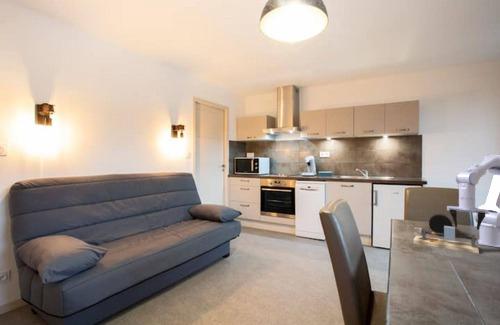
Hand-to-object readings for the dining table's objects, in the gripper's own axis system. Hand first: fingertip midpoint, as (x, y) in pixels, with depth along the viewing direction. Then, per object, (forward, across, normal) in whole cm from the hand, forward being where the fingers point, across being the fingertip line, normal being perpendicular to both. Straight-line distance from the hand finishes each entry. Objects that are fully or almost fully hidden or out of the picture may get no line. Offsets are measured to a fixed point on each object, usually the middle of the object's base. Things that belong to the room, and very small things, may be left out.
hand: (466, 227), depth 117 cm
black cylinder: (+9, -12, +34) cm, 37 cm away
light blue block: (+6, -6, 0) cm, 9 cm away
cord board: (+10, -8, 0) cm, 13 cm away
